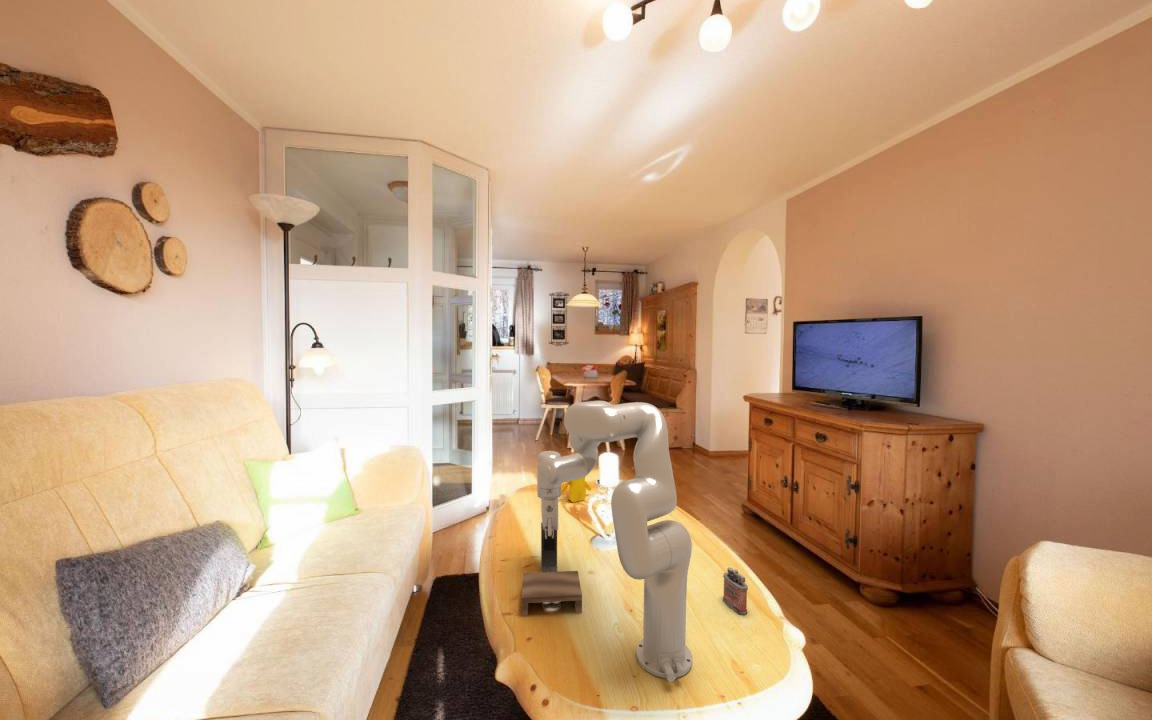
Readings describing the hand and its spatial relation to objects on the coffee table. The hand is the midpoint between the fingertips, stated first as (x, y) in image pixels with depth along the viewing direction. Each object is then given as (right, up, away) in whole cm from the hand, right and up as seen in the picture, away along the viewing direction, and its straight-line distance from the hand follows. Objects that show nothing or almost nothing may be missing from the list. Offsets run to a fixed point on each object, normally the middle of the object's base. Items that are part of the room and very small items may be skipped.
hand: (549, 546), depth 139 cm
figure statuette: (+9, -4, +57) cm, 58 cm away
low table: (+2, -8, -18) cm, 19 cm away
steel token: (+2, -8, -20) cm, 22 cm away
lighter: (+52, -8, -20) cm, 56 cm away
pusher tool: (+1, -7, -8) cm, 10 cm away
